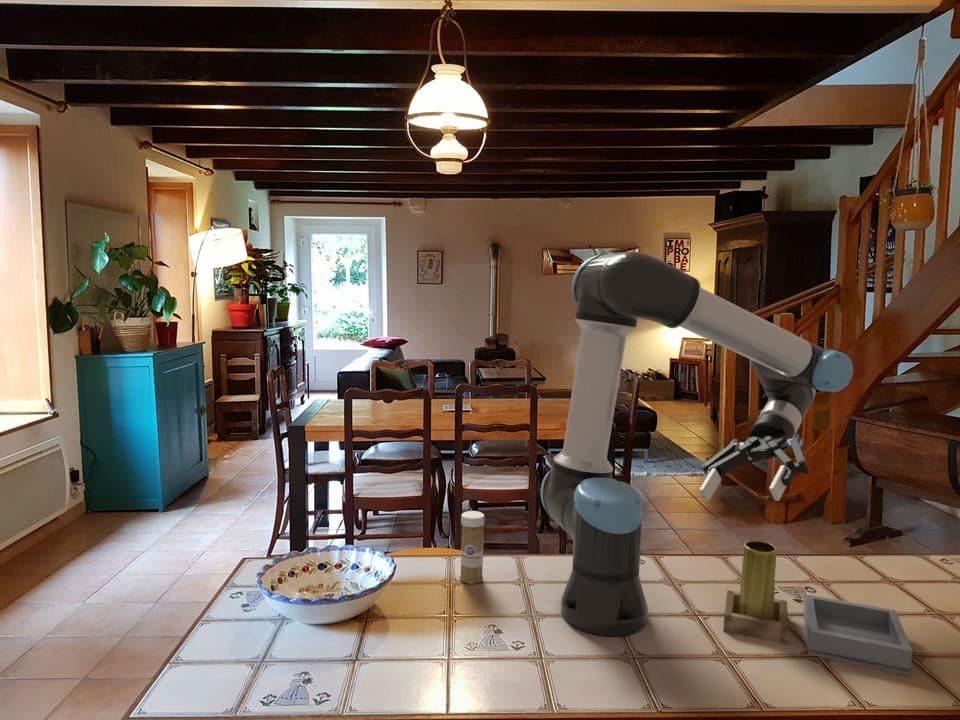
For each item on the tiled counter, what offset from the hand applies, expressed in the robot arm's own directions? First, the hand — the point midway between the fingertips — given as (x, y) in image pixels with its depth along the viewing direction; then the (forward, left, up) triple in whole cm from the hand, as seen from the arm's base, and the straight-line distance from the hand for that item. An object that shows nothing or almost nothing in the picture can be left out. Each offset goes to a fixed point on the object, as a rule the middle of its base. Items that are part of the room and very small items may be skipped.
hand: (737, 495), depth 120 cm
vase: (+4, -4, -21) cm, 22 cm away
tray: (+19, -4, -21) cm, 29 cm away
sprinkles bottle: (-48, -9, -22) cm, 53 cm away
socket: (+4, -4, -21) cm, 22 cm away
